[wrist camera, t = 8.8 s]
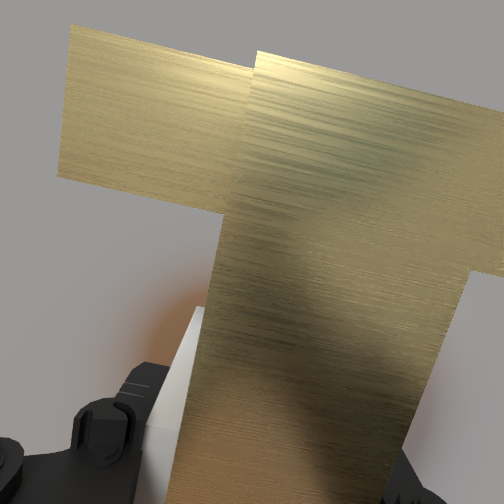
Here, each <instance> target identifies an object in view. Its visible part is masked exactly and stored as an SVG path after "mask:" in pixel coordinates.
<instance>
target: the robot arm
mask: <svg viewBox="0 0 504 504" xmlns="http://www.w3.org/2000/svg"><path fill="white" fill-rule="evenodd" d="M204 310H205V308H203V307H198V306H197V308H196V310H195V312H194V314H193V317H192V319H191V321H190V324H189V326H188V329H187V331H186V333H185V335H184V338H183V340H182V342H181V344H180V347H179V349H178V351H177V354H176V356H175V358H174V361H173V363H172V365H171V367H168V366H164V365H159V364H154V363H148V362H143V363H142V364H140V365H139V366H137V367H136V368H134V369H133V370H132V371H131V372H130V374H129V376H128V377H127V379H126V380H125V383H124V384H123V385H122V387H121V388H120V390H119V393H117V395H116V396H115V397H114V398H103V399H100V400H97V401H93V402H91V403H89V404H88V405H86V406H85V407H83V408H82V409H80V411H79V412H78V414H77V415H76V416H75V418H74V423H73V430H72V439H71V447H70V449H67V450H64V451H61V452H56V453H50V454H39V455H29V456H24V449H23V448H22V446H21V445H20V444H19V442H17V441H15V440H12V439H10V438H2V437H0V504H164V503H165V498H166V494H167V489H168V484H169V479H170V474H171V469H172V464H173V460H174V455H175V450H176V445H177V440H178V435H179V431H180V426H181V421H182V416H183V411H184V406H185V402H186V397H187V392H188V387H189V382H190V377H191V373H192V368H193V363H194V358H195V353H196V348H197V344H198V339H199V334H200V329H201V324H202V319H203V315H204ZM380 504H447V503H446V502H445V501H444V500H442V499H441V498H440V497H439V496H437V495H436V494H434V493H433V492H431V491H429V490H427V489H426V488H423V486H422V484H421V482H420V481H419V479H418V477H417V475H416V473H415V472H414V470H413V468H412V466H411V464H410V463H409V461H408V459H407V457H406V455H405V454H404V452H403V450H402V448H401V450H400V453H399V455H398V458H397V460H396V463H395V466H394V468H393V471H392V473H391V476H390V478H389V481H388V483H387V486H386V488H385V491H384V494H383V496H382V499H381V501H380Z"/></svg>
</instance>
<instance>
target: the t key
mask: <svg viewBox="0 0 504 504" xmlns="http://www.w3.org/2000/svg"><path fill="white" fill-rule="evenodd" d="M67 63H68V64H67V74H66V85H65V96H64V108H63V119H62V130H61V141H60V153H59V163H58V174H57V176H58V177H61V178H65V179H69V180H74V181H78V182H83V183H87V184H92V185H96V186H101V187H105V188H109V189H114V190H118V191H123V192H127V193H132V194H136V195H141V196H145V197H149V198H154V199H158V200H163V201H167V202H172V203H176V204H180V205H185V206H189V207H194V208H198V209H203V210H207V211H212V212H216V213H220V214H224V218H223V223H222V227H221V232H220V237H219V242H218V247H217V252H216V257H215V262H214V266H213V271H212V276H211V281H210V286H209V291H208V295H207V300H206V305H205V310H204V315H203V319H202V324H201V329H200V334H199V339H198V344H197V348H196V353H195V358H194V363H193V368H192V373H191V377H190V382H189V387H188V392H187V397H186V402H185V406H184V411H183V416H182V421H181V426H180V431H179V435H178V440H177V445H176V450H175V455H174V460H173V464H172V469H171V474H170V479H169V484H168V489H167V494H166V498H165V503H164V504H380V501H381V499H382V496H383V494H384V491H385V488H386V486H387V483H388V481H389V478H390V476H391V473H392V471H393V468H394V466H395V463H396V460H397V458H398V455H399V453H400V450H401V448H402V445H403V442H404V440H405V437H406V435H407V432H408V430H409V427H410V424H411V422H412V419H413V417H414V414H415V412H416V409H417V407H418V404H419V402H420V399H421V397H422V394H423V392H424V389H425V386H426V384H427V381H428V378H429V376H430V374H431V371H432V369H433V366H434V364H435V361H436V358H437V356H438V353H439V351H440V348H441V345H442V343H443V341H444V338H445V335H446V333H447V330H448V328H449V325H450V323H451V320H452V318H453V315H454V313H455V310H456V307H457V305H458V302H459V300H460V297H461V295H462V292H463V290H464V287H465V284H466V282H467V279H468V277H469V274H470V272H471V270H473V271H477V272H482V273H486V274H491V275H496V276H500V277H504V112H500V111H496V110H492V109H488V108H484V107H480V106H476V105H472V104H468V103H464V102H460V101H456V100H452V99H448V98H444V97H440V96H436V95H432V94H428V93H424V92H421V91H416V90H412V89H408V88H404V87H401V86H396V85H393V84H389V83H384V82H381V81H377V80H373V79H369V78H365V77H361V76H357V75H353V74H349V73H345V72H341V71H337V70H333V69H329V68H325V67H321V66H317V65H313V64H309V63H305V62H302V61H298V60H294V59H290V58H286V57H282V56H278V55H274V54H270V53H266V52H261V51H258V53H257V58H256V63H255V68H254V69H251V68H247V67H243V66H239V65H235V64H231V63H227V62H223V61H219V60H215V59H211V58H207V57H202V56H199V55H195V54H191V53H186V52H183V51H179V50H175V49H171V48H167V47H163V46H159V45H155V44H151V43H147V42H143V41H139V40H134V39H131V38H126V37H123V36H119V35H115V34H111V33H107V32H103V31H99V30H95V29H91V28H87V27H83V26H79V25H74V24H71V29H70V40H69V51H68V62H67Z"/></svg>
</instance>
